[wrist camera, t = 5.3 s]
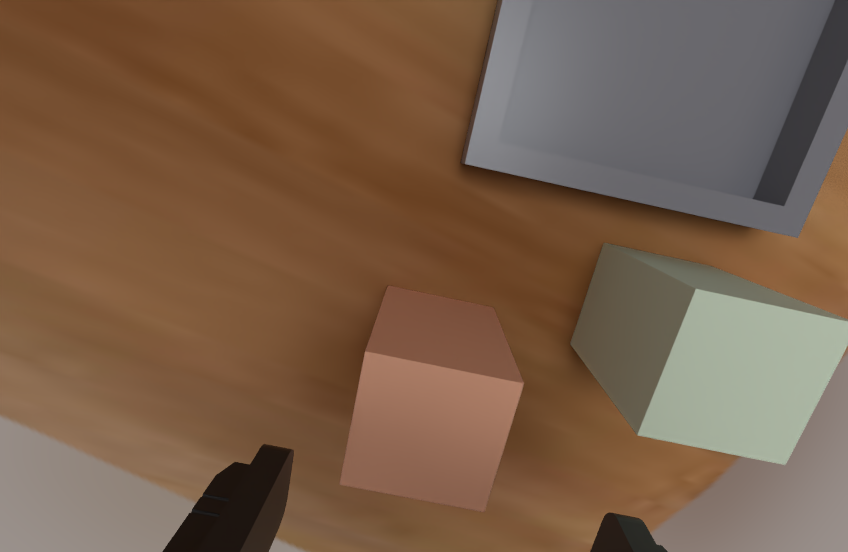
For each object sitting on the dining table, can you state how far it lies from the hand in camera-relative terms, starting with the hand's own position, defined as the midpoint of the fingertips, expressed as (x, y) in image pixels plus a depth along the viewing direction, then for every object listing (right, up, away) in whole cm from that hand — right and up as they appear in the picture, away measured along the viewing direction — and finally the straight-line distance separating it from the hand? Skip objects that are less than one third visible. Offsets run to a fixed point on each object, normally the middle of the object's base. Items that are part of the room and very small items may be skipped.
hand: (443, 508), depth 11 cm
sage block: (+9, +5, +9) cm, 14 cm away
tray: (+9, +15, +6) cm, 19 cm away
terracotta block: (0, +3, +10) cm, 10 cm away
